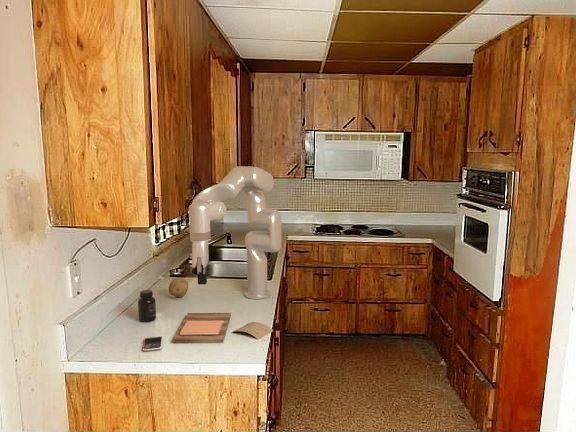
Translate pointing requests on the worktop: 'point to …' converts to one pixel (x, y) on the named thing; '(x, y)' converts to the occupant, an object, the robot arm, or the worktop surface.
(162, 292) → the worktop surface
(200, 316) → the walnut board
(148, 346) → the cell phone
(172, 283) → the natural sponge
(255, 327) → the clay tablet
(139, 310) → the supplement bottle
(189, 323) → the ceramic tile
